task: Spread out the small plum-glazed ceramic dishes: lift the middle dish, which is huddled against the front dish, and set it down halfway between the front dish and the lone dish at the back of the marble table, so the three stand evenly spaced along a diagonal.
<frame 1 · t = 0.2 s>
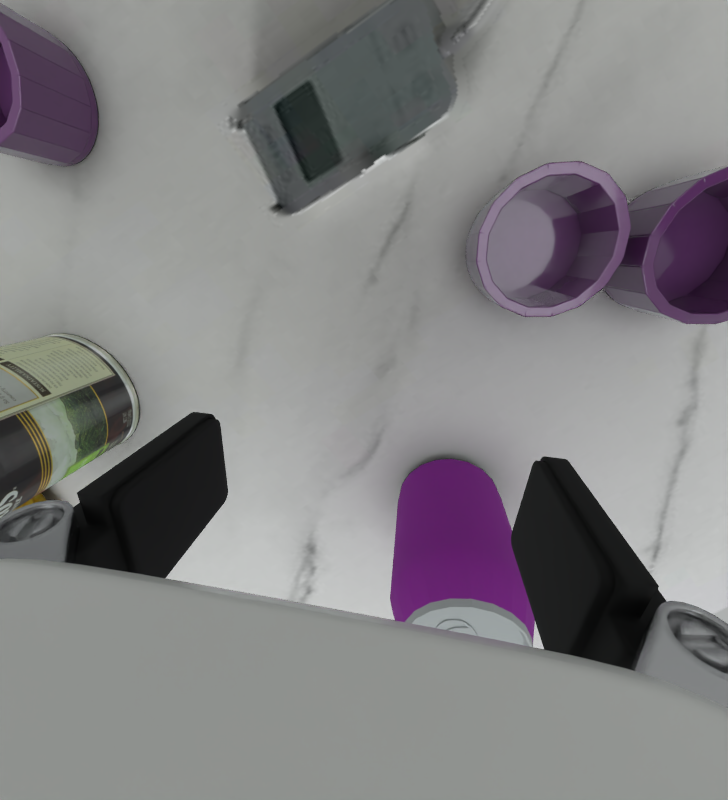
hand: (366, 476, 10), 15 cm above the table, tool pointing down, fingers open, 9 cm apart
dish middle: (523, 247, 20), on the table
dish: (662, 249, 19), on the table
beverage can: (446, 492, 28), on the table
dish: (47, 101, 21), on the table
coffee can: (85, 391, 29), on the table
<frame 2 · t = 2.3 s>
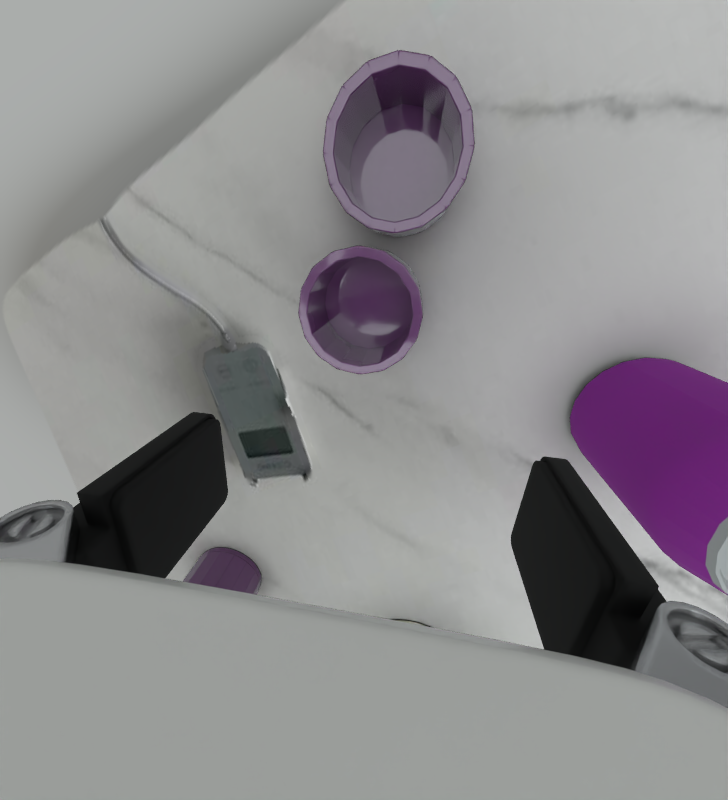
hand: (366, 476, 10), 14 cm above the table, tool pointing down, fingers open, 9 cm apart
dish middle: (369, 303, 22), on the table
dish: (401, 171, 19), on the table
beverage can: (625, 408, 23), on the table
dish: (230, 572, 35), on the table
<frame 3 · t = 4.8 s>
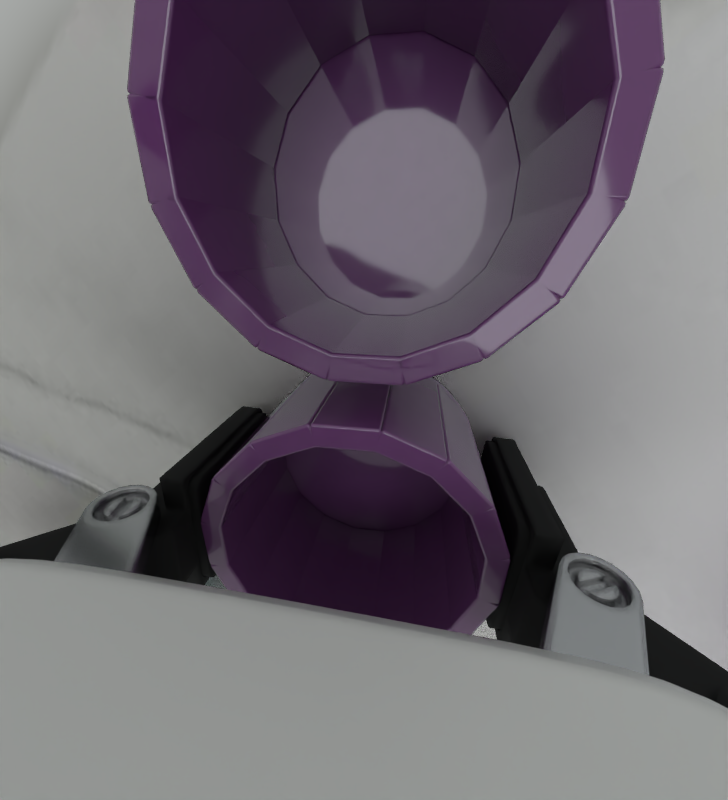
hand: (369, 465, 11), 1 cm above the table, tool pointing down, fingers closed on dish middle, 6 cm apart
dish middle: (372, 452, 12), on the table, touching gripper
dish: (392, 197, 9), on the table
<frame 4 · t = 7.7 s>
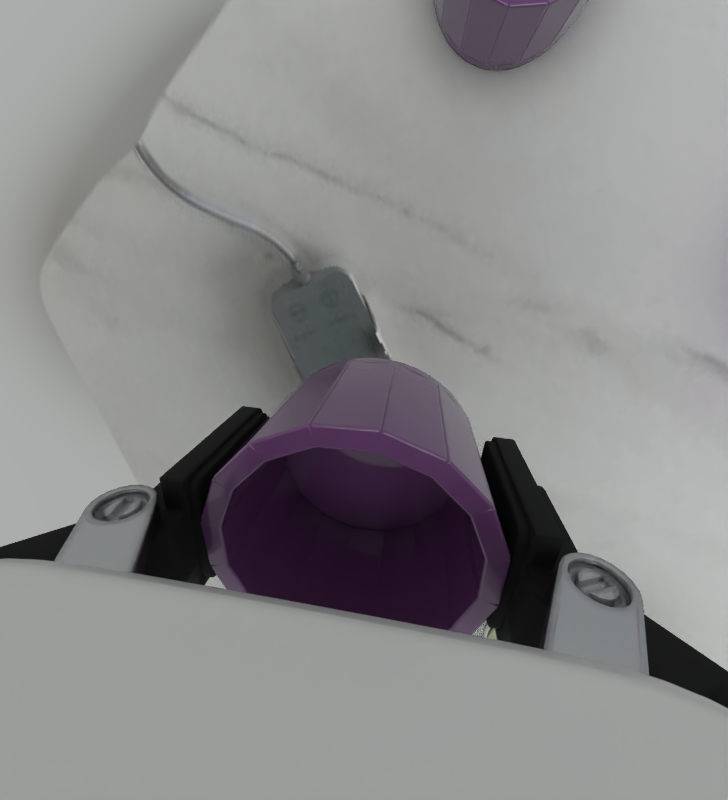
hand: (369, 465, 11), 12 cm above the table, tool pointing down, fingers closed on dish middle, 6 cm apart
dish middle: (372, 453, 11), point 11 cm above the table, touching gripper
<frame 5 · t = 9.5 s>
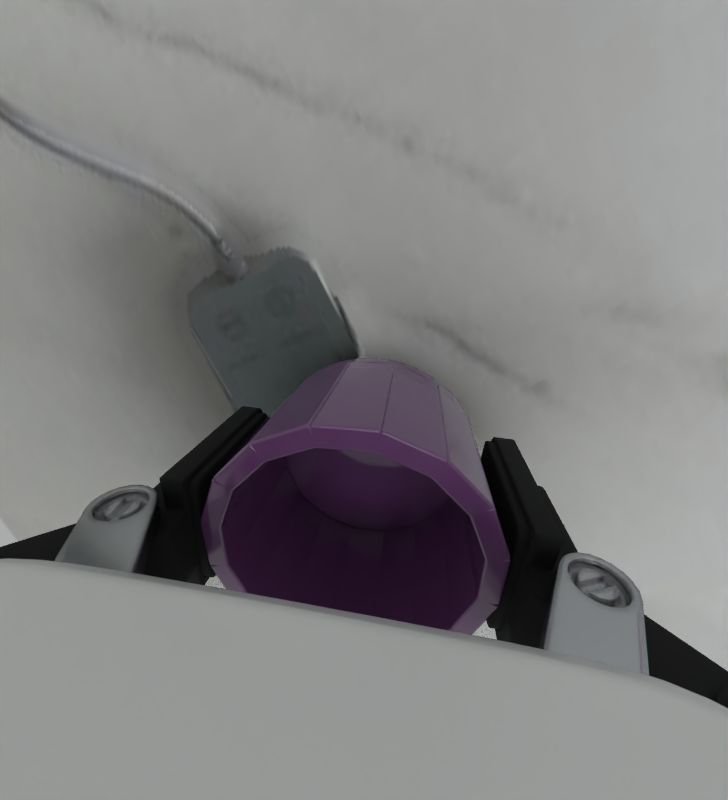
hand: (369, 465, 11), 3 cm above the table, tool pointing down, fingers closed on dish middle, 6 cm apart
dish middle: (372, 453, 11), point 2 cm above the table, touching gripper
when the fingers open (1 cm above the table, at t = 10.8 s): dish middle stays where it is, on the table.
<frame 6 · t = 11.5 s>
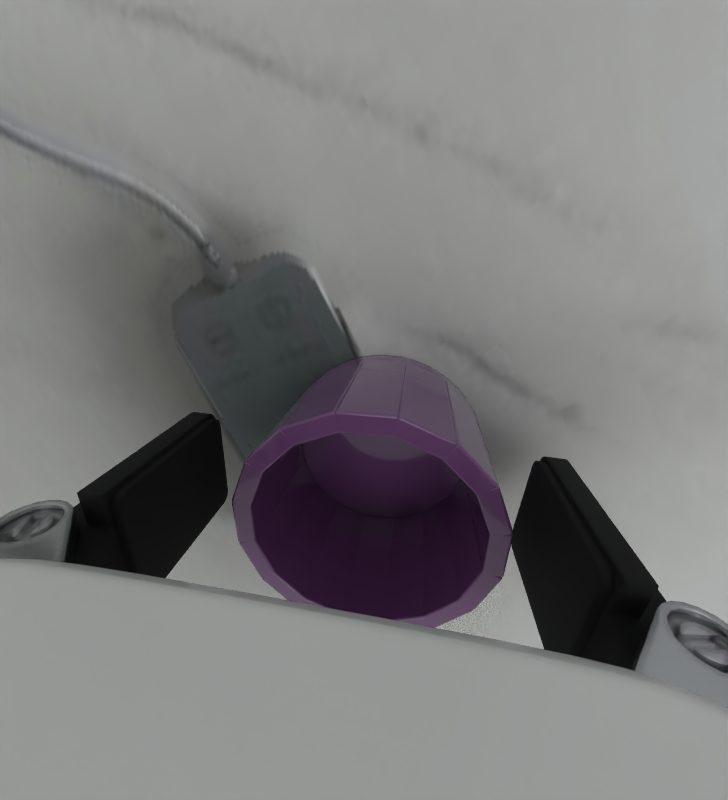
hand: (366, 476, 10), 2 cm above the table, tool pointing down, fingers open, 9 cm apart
dish middle: (383, 444, 12), on the table
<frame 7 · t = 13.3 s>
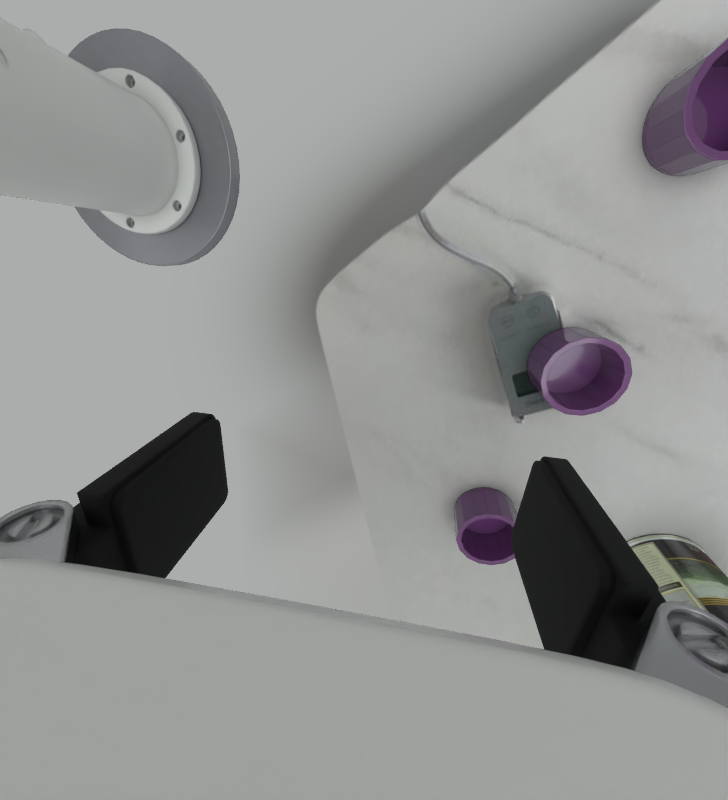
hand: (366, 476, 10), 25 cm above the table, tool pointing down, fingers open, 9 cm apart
dish middle: (565, 363, 32), on the table
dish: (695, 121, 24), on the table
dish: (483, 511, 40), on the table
coffee can: (652, 567, 39), on the table
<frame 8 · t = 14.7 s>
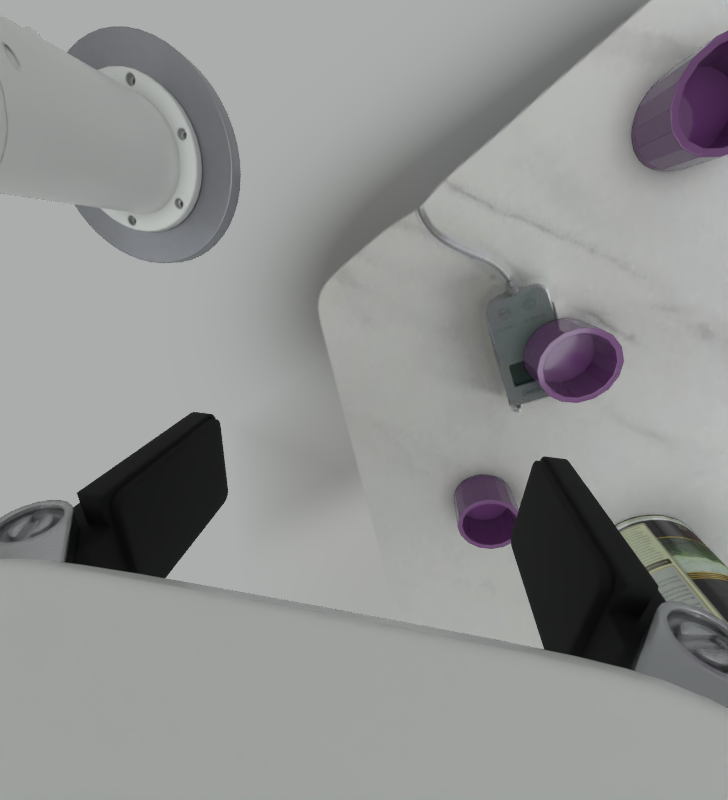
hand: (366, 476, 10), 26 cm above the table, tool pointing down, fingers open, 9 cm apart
dish middle: (559, 352, 33), on the table
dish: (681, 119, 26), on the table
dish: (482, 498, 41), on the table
coffee can: (643, 547, 41), on the table
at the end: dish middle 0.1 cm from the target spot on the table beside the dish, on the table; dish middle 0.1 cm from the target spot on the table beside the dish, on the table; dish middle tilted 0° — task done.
